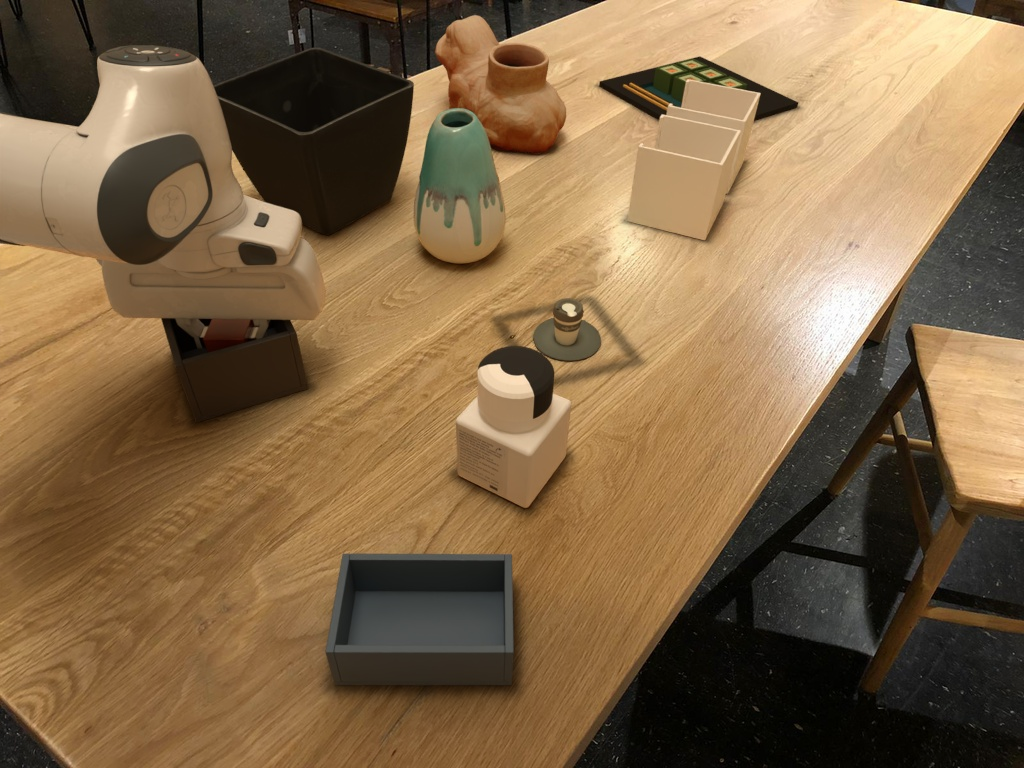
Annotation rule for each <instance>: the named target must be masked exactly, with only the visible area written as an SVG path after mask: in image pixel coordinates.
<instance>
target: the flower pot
mask: <svg viewBox="0 0 1024 768" xmlns="http://www.w3.org/2000/svg"><path fill="white" fill-rule="evenodd" d="M213 86H214V89H215V91H216V94H217V97H218V100H219V103H220V106H221V109H222V112H223V116H224V119H225V123H226V126H227V130H228V134H229V138H230V142H231V147H232V154H234V156H235V158H236V160H237V162H238V163H239V165H240V167H241V168H242V170H243V172H244V173H245V175H246V176H247V178H248V179H249V181H250V183H251V184H252V186H253V187H254V189H255V190H256V192H257V193H258V194H259V196H260V197H261V199H262V201H263V202H266V203H269V204H273V205H276V206H280V207H283V208H287V209H290V210H293V211H295V212H297V213H298V214H299V215H300V217H301V220H302V226H303V225H304V226H306V227H308V228H309V229H311V230H313V231H315V232H317V233H319V234H320V235H321V234H322V235H324V236H329V235H333V234H334V233H336V232H339V231H340V230H341V229H343V228H345V227H347V226H349V225H351V224H352V223H354V222H355V221H357V220H359V219H360V218H363V217H365V215H368V214H369V213H371V212H373V211H374V210H376V209H378V208H379V207H381V206H383V205H385V204H386V203H388V202H391V199H392V197H393V194H394V192H395V189H396V186H397V182H398V179H399V175H400V173H401V169H402V165H403V161H404V156H405V152H406V148H407V144H408V143H407V142H408V138H409V133H410V125H411V120H412V112H413V111H412V110H413V104H414V103H413V102H414V92H415V91H414V89H415V88H414V87H415V83H414V82H413V80H411V79H407V78H405V77H402V76H399V75H398V74H394V73H391V72H389V71H387V70H386V71H385V70H383V69H380V68H377V67H374V66H372V65H369V64H366V63H363V62H360V61H358V60H356V59H352V58H350V57H347V56H344V55H341V54H338V53H335V52H333V51H329V50H327V49H324V48H321V47H311V48H308V49H305V50H302V51H299V52H297V53H294V54H292V55H288V56H286V57H284V58H281V59H279V60H276V61H273V62H271V63H268V64H265V65H263V66H260V67H258V68H256V69H252V70H250V71H247V72H245V73H242V74H240V75H238V76H235V77H232V78H229V79H226V80H224V81H222V82H220V83H216V84H213Z"/></svg>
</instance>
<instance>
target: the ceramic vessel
mask: <svg viewBox="0 0 1024 768" xmlns="http://www.w3.org/2000/svg"><path fill="white" fill-rule="evenodd" d="M434 54H435V56H436V59H437V60H438V62H439V63H440V64H441V65H442V66H443V67H444V69H445V71H446V73H447V79H448V81H449V82H448V88H447V92H448V93H447V95H448V103H449V107H448V110H449V109H453V108H462V109H467V110H469V111H471V112H473V113H474V114H475V115H476V116H477V118H478V119H479V120H480V122H481V123H482V125H483V127H484V129H485V131H486V133H487V136H488V139H489V142H490V146H491V149H494V150H496V151H498V152H509V153H520V154H529V155H539V154H545V153H548V152H549V151H550V150H551V149H552V148H553V145H554V143H555V142H556V141H557V139H558V136H559V132H560V131H561V130H562V129H563V127H564V126H565V123H566V119H567V107H566V105H565V102H564V101H563V99H562V98H561V96H560V95H559V93H558V91H557V89H556V88H555V87H554V86H553V85H552V84H551V83H550V82H549V81H548V80H547V76H548V71H549V64H550V59H549V56H548V54H547V53H546V52H545V50H543V49H541V48H539V47H537V46H535V45H532V44H528V43H524V42H503V43H500V42H499V41H498V40H497V37H496V35H495V34H494V31H493V30H492V28H491V27H490V25H489V24H488V22H487V21H486V20H485V19H484V18H483V17H481V16H480V15H475V14H474V15H470V16H468V17H466V18H463V19H457V20H454V21H453V22H451V24H450V25H448V26H447V27H446V30H445V33H444V34H443V35H442V37H440V38H439V39H438V41H437V43H436V46H435V50H434Z"/></svg>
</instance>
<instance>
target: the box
mask: <svg viewBox="0 0 1024 768" xmlns="http://www.w3.org/2000/svg"><path fill="white" fill-rule="evenodd" d="M513 579H514V578H513V554H512V553H505V554H503V553H342V555H341V561H340V566H339V572H338V577H337V583H336V588H335V596H334V600H333V607H332V612H331V617H330V622H329V623H330V624H329V629H328V635H327V640H326V646H325V656H326V659H327V663H328V665H329V670H330V673H331V677H332V681H333V683H334V685H335V686H512V685H513V670H514V669H513V668H514V654H515V653H514V651H515V650H514V646H515V645H514V592H513V591H514V589H513V588H514V587H513V585H514V584H513V583H514V582H513Z"/></svg>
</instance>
